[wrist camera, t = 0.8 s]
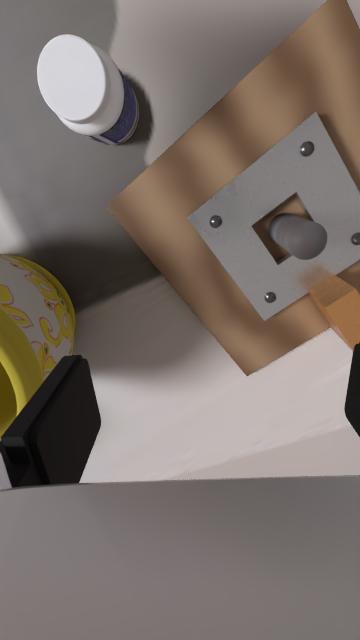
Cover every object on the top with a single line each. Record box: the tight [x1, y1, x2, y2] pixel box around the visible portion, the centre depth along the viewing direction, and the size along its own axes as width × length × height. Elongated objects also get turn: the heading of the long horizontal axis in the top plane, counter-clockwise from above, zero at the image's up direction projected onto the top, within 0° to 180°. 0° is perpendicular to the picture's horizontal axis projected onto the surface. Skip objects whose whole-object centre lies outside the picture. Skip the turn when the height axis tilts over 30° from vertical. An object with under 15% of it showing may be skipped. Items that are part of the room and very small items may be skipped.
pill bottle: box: [37, 34, 139, 145], centre depth 25 cm, size 6×6×10 cm
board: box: [106, 0, 360, 376], centre depth 29 cm, size 26×26×9 cm
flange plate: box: [187, 112, 360, 351], centre depth 30 cm, size 20×14×6 cm
